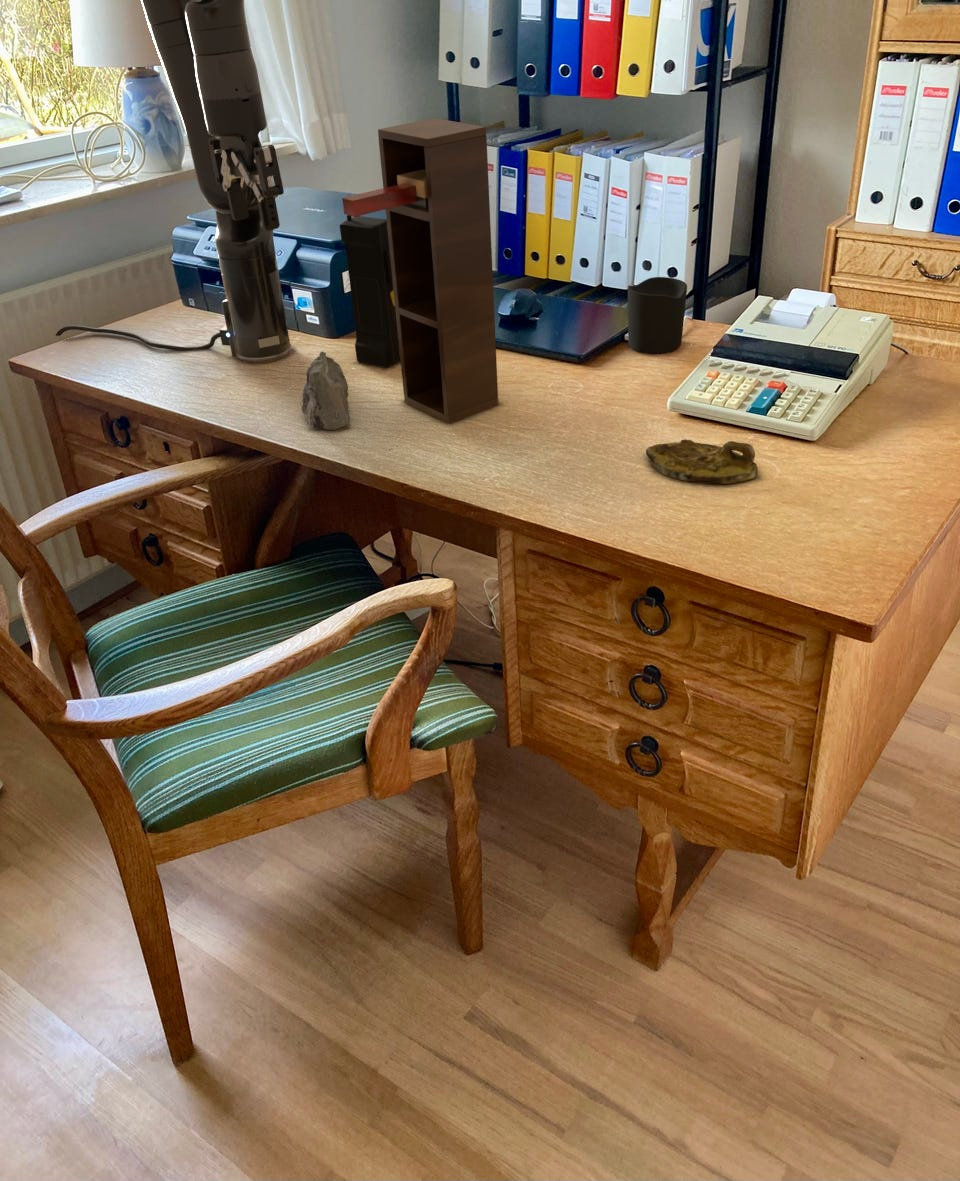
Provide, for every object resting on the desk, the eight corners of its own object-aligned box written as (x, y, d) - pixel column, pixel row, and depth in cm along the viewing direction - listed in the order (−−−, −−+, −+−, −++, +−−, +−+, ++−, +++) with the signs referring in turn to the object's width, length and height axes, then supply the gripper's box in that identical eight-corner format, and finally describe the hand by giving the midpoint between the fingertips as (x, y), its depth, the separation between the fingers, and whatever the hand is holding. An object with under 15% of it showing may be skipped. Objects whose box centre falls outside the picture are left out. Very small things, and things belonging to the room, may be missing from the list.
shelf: (404, 402, 156) (377, 129, 135) (453, 384, 161) (434, 118, 139) (448, 424, 149) (427, 139, 127) (498, 404, 154) (486, 126, 132)
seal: (634, 479, 134) (748, 498, 128) (633, 449, 131) (750, 466, 125) (655, 442, 140) (766, 458, 135) (655, 412, 137) (768, 427, 132)
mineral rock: (329, 391, 161) (320, 329, 156) (387, 401, 157) (380, 338, 151) (279, 424, 152) (268, 359, 146) (339, 436, 147) (330, 369, 142)
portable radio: (414, 357, 171) (400, 202, 157) (393, 369, 167) (376, 211, 153) (377, 350, 175) (359, 197, 161) (355, 362, 171) (335, 206, 157)
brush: (337, 217, 133) (333, 189, 131) (443, 191, 142) (441, 164, 140) (362, 225, 129) (359, 196, 127) (470, 198, 138) (469, 170, 136)
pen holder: (687, 354, 166) (691, 293, 161) (629, 357, 166) (631, 296, 161) (678, 334, 174) (682, 275, 168) (623, 337, 174) (624, 278, 169)
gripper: (178, 92, 131) (207, 222, 140) (230, 100, 122) (257, 239, 131) (230, 83, 135) (255, 210, 144) (284, 90, 126) (307, 226, 135)
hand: (256, 224), depth 138 cm, fingers open, 8 cm apart
